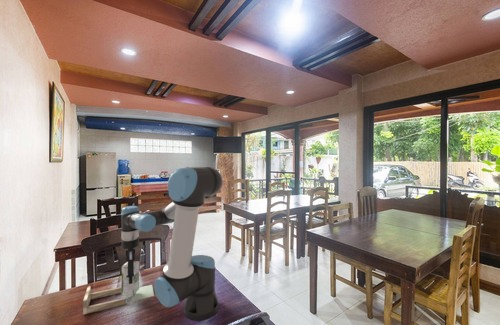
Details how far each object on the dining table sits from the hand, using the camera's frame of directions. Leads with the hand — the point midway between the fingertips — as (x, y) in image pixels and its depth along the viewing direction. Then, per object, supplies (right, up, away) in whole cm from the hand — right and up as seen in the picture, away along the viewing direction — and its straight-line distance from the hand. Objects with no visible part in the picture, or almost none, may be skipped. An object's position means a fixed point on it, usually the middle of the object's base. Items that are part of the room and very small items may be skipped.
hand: (130, 285), depth 113 cm
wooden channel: (-9, -5, -4) cm, 11 cm away
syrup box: (0, -4, 0) cm, 4 cm away
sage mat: (+4, -5, +3) cm, 7 cm away
